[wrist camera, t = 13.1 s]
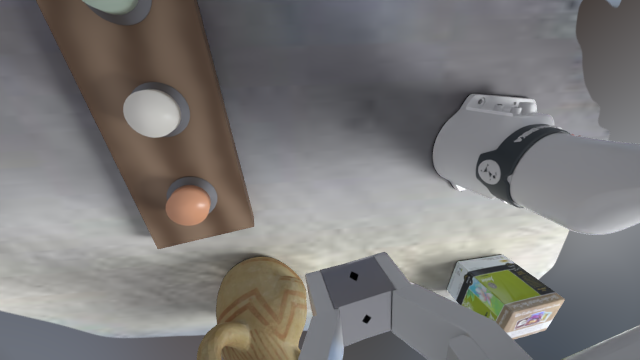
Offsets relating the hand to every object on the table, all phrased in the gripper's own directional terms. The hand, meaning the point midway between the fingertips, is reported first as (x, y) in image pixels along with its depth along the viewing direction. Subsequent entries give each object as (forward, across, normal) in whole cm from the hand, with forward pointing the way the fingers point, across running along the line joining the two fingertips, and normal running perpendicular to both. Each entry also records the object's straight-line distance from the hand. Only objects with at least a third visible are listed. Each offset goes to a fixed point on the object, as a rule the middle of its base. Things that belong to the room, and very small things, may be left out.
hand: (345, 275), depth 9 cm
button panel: (+31, -13, +4) cm, 34 cm away
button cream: (+27, -13, +4) cm, 30 cm away
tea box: (+31, +44, -46) cm, 71 cm away
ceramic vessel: (+31, -8, -29) cm, 43 cm away
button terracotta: (+27, -13, -8) cm, 31 cm away
